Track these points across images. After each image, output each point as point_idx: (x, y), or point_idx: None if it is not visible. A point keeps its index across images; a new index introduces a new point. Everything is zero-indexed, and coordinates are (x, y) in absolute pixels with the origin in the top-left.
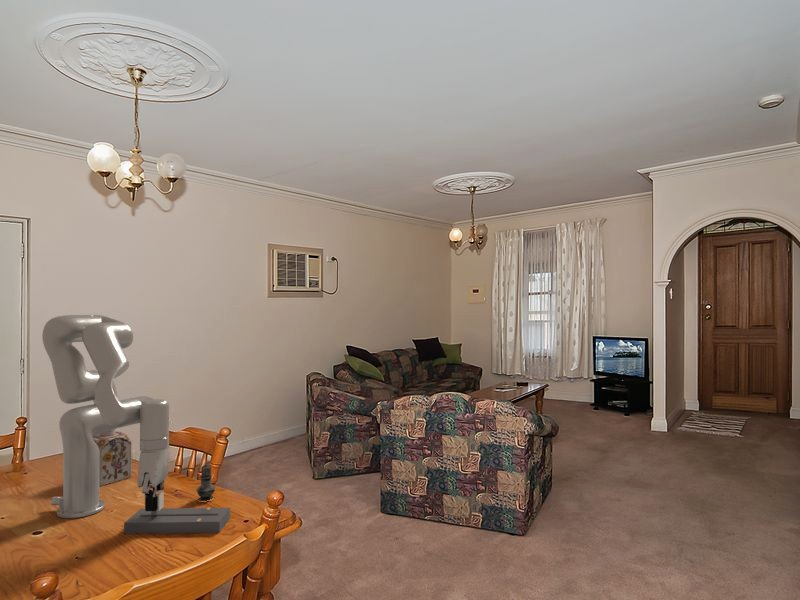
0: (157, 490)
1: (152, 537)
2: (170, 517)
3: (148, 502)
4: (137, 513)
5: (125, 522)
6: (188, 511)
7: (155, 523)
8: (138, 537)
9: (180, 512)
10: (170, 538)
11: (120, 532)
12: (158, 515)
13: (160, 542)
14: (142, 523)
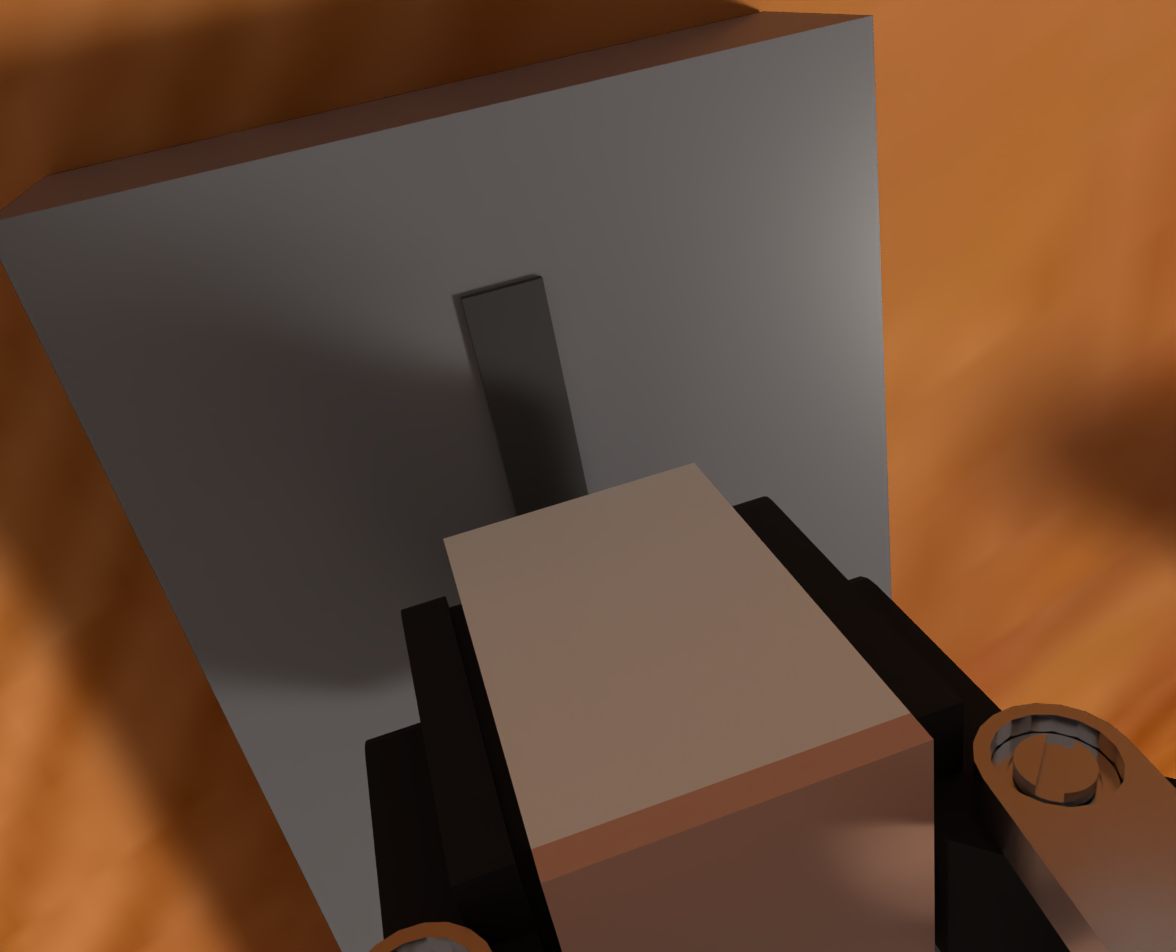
0: (915, 945)
1: (135, 729)
2: None
3: (388, 885)
4: (598, 143)
5: (21, 241)
6: None
7: (268, 791)
8: (41, 542)
9: None
10: (202, 934)
11: (82, 33)
12: None
13: (38, 921)
14: (176, 601)
